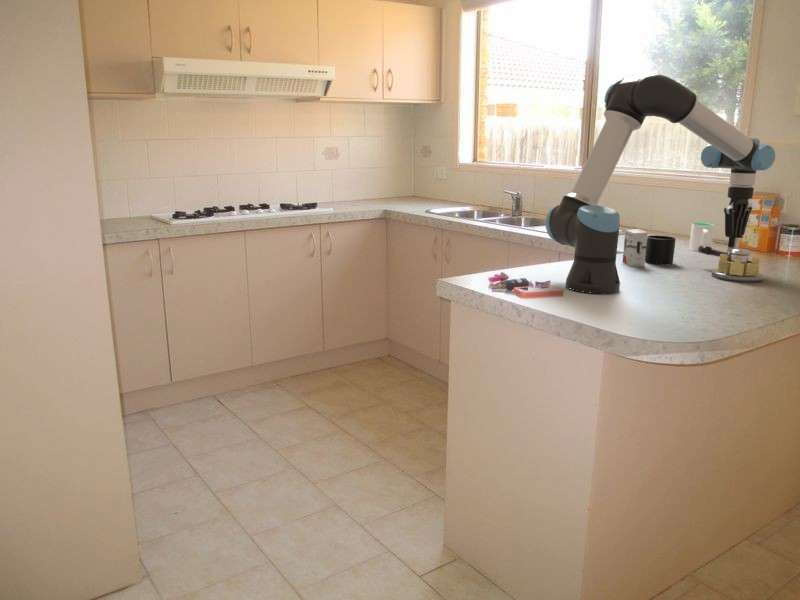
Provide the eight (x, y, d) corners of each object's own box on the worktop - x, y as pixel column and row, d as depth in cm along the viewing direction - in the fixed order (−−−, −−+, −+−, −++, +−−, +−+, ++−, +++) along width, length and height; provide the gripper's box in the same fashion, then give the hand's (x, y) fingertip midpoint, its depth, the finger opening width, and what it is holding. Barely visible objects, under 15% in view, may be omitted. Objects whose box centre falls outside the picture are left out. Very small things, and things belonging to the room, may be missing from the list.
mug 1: (652, 258, 245) (655, 233, 243) (678, 264, 235) (681, 238, 233) (633, 259, 241) (636, 235, 239) (659, 265, 231) (662, 239, 229)
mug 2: (716, 254, 257) (719, 227, 255) (694, 253, 258) (697, 226, 256) (707, 249, 269) (711, 223, 266) (686, 248, 270) (689, 222, 267)
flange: (733, 283, 204) (737, 254, 202) (701, 273, 218) (704, 246, 216) (774, 281, 208) (779, 253, 205) (740, 272, 222) (744, 245, 220)
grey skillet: (735, 276, 206) (737, 258, 205) (685, 261, 229) (687, 245, 227) (766, 275, 208) (769, 257, 207) (714, 261, 231) (716, 244, 230)
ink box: (621, 261, 237) (624, 228, 234) (635, 262, 237) (638, 229, 234) (630, 266, 229) (634, 232, 226) (644, 266, 229) (648, 232, 226)
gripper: (741, 184, 226) (732, 253, 231) (719, 185, 219) (710, 256, 224) (763, 186, 220) (753, 256, 225) (741, 187, 213) (731, 260, 218)
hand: (731, 256), depth 225 cm, fingers closed
